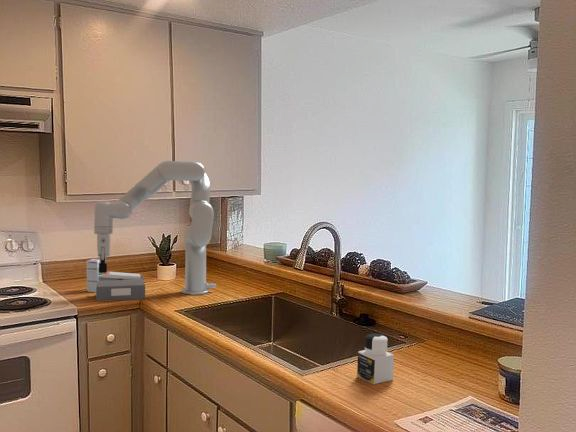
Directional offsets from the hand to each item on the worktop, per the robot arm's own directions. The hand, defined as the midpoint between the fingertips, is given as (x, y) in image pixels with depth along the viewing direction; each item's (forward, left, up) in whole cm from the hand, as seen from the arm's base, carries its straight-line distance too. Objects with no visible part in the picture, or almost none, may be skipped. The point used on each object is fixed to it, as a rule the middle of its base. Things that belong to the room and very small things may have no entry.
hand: (102, 272), depth 236 cm
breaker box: (-8, 0, -11) cm, 14 cm away
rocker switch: (-8, 0, -2) cm, 8 cm away
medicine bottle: (-74, +115, -11) cm, 137 cm away
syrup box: (+3, -15, -11) cm, 19 cm away
